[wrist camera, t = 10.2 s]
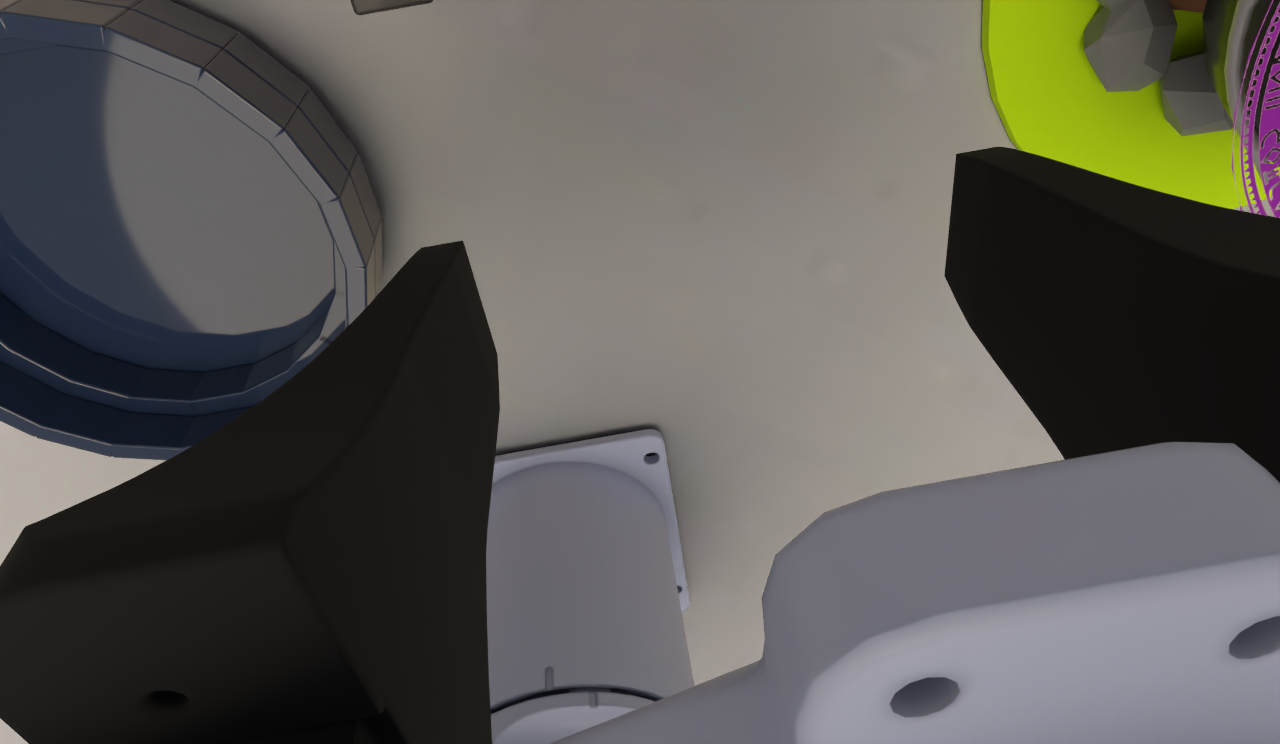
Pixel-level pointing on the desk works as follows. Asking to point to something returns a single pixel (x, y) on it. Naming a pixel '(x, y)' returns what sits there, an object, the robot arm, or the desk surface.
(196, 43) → the pan
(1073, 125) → the toy cauldron
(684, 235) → the desk surface
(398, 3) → the copper pot
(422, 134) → the desk surface
